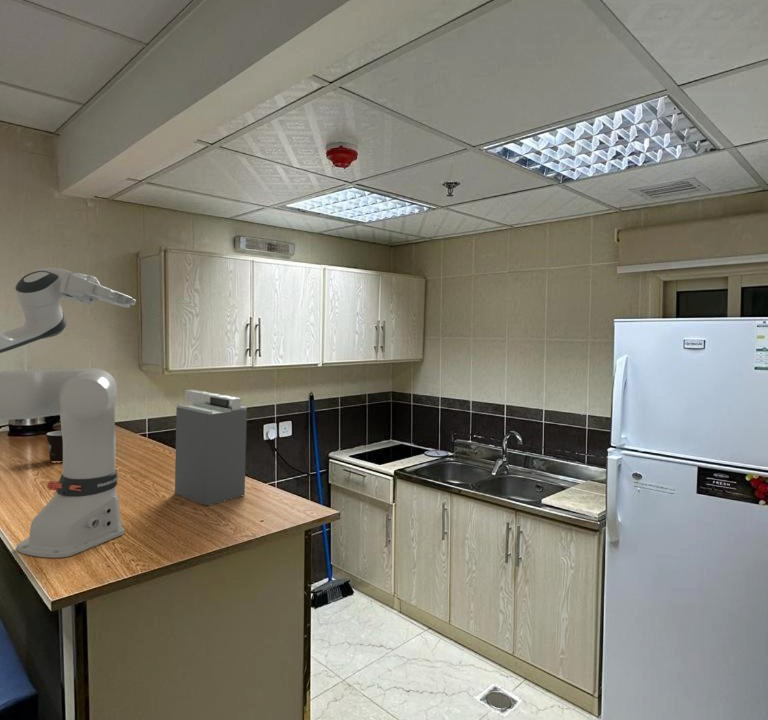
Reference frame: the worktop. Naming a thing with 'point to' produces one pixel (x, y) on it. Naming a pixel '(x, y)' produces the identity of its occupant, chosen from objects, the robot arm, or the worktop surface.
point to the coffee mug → (55, 445)
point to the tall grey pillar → (210, 452)
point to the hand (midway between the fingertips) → (123, 298)
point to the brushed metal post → (213, 399)
